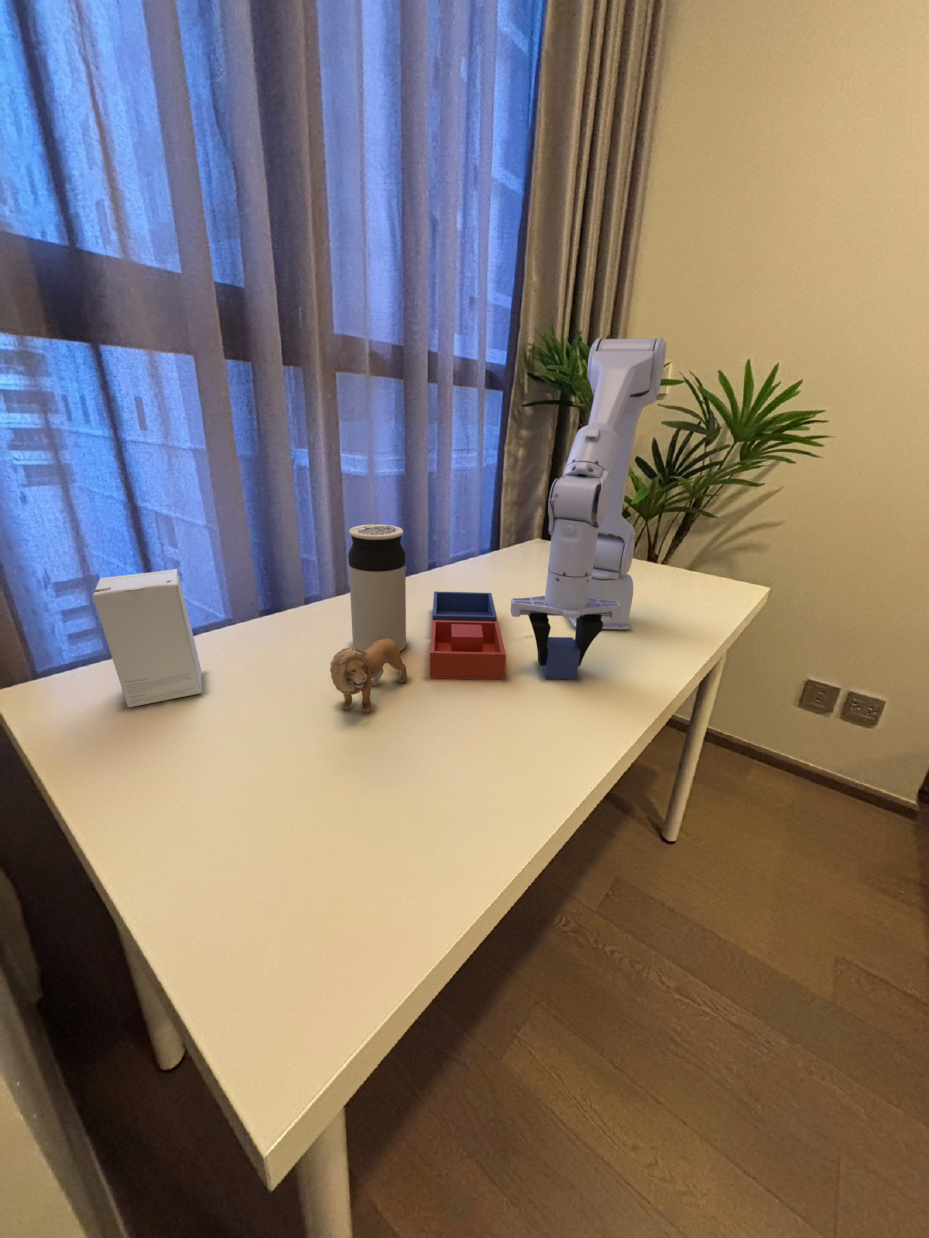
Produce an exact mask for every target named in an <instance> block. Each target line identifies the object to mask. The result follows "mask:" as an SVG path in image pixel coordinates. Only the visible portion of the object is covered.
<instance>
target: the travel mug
mask: <svg viewBox="0 0 929 1238" xmlns="http://www.w3.org/2000/svg"><path fill="white" fill-rule="evenodd" d="M348 533H349V535H350V536H351V541H352V545H351V546H350V549H349V551H348V553H347V555H348V576H349V592H350V593H349V596H350V613H351V614H350V615H351V633H352V647H353V649H358V650H360V651H361V652H364V651H365V650H367V649H368V648H369V647H370V646H372V644H373V643H374V642H376V641H377V640H382V639H392V640H394V641H395V642H396V643H397V645H398V647H399V651H400V652H401V651H403V650H404V649H405V647H406V645H407V613H406V612H407V603H406V602H407V601H406V600H407V599H406V598H407V597H406V596H407V595H406V594H407V593H406V592H407V591H406V586H407V585H406V579H407V577H406V573H407V572H406V571H407V570H406V551H405V549H404V547H403V545H402V543H401V542H402V536H403V534H404V529H403V528H402V527H399V526H396V525H393V524H384V523H383V524H381V523H379V524H378V523H375V524H373V523H371V524H360V525H356V526H353V527H351V528H350V529H349V530H348Z"/></svg>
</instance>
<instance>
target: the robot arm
mask: <svg viewBox="0 0 929 1238" xmlns="http://www.w3.org/2000/svg"><path fill="white" fill-rule="evenodd" d="M666 354H667V342H666V340H665V339H664V337H663V336H658V337H657V338H655V337H654V338H651V337H650V338H602V337H598V338H596V339H595V341H594V342H593V343H592V345H591V346H590V349H589V354H588V360H587V380H588V382H589V385H590V389H591V393H592V396H593V401H592V405H591V411H590V414H589V419H588V422H587V423H588V424H587V425H585V426H583V427H581V428H580V429H578V431H577V432H576V434H575V437H574V439H573V444H572V446H571V449H570V452H569V455H568V458H567V462H566V463H565V467H564V471H563V473H562V475H561V477H559V478H557V477H556V478H554V481H553V482H552V485H551V488H550V491H549V497H548V505H547V506H548V507H547V508H548V509H547V514H548V534H549V535H550V536H551V537H550V545H549V546H550V547H549V554H548V566H547V575H546V584H545V594H544V595H539V596H538V595H537V596H528V597H513V598H511V600H510V615H511V617H512V618H513V617H514V618H515V617H516V618H517V617H518V618H519V617H520V616H528V619H529V621H530V624H531V627H532V630H533V631H532V632H533V634H534V638H535V644H536V650H537V661H538V664H539V666H540V667H541V666H545V661H546V652H547V642H548V637H550V632H551V625H550V623H549V622H550V618H549V617H548V616H551V617H552V616H553V617H564V618H567V619H568V620H569V621H570V624H572V626H573V628H574V629H575V635H574V640H575V642H576V644H577V646H578V648H579V649H580V658H579V665H578V667H581V665H582V662H583V659H584V657H585V655H586V653H587V651H588V649H589V648H590V646H591V644H593V643H592V642H593V641H594V640H595V639H596V638H597V637H598V635H599V634H600V633H601V632H602V631H603V630H629V629H630V626H629V621H630V614H631V610H632V609H631V608H632V603H633V599H634V598H633V597H634V580H633V577H632V576H631V574H629V572H630V569H631V566H632V562H633V558H634V554H635V553H634V552H635V547H636V546H635V540H636V530H635V528H634V526H633V525H632V524H631V523H630V522H629V521H628V520H627V519H626V518H624V516H623V514H622V513H623V509H624V508H623V507H624V502H625V497H626V490H627V484H628V479H629V472H630V466H631V462H632V456H633V450H634V446H635V445H634V444H635V438H636V433H637V426H638V423H639V420H640V417H641V414H642V412H643V409H644V408H646V407H648V406H650V405H653V404H654V403H656V401H657V397H658V396H659V393H660V388H661V382H662V377H663V374H664V373H663V372H664V367H665V362H666Z"/></svg>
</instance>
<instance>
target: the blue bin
mask: <svg viewBox="0 0 929 1238" xmlns="http://www.w3.org/2000/svg"><path fill="white" fill-rule="evenodd" d="M431 615H432V617H431V621H432V620H447V621H491V622H498V615H497V611H496V607H495V602H494V598H493V594H492V592H473V591H471V592H470V591H437V590H436V591H433V602H432V614H431Z"/></svg>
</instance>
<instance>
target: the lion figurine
mask: <svg viewBox="0 0 929 1238" xmlns="http://www.w3.org/2000/svg"><path fill="white" fill-rule="evenodd" d="M329 664H330V669H329V672H330V677H331V681H332V684H333V685H334V686H335V688H336V690H337V691H339V692H340V693H341V694H342V695H343V698H344V701H342V702H341V705H340V707H341V709H342V710H349V709H350V708H351V707H352V706H353V696H354V695H357V694H359V693H360V692H361V698H362V699H361V708H360V709H361V712H362V713H370V712H372V710H373V709H372V702H371V693H372V687H374V686H377V685H378V684H379V683H380V681H381V678H382V676H383V675H384V672H385V671H384V666H385V665H386V664H387V665H389V666H391V667H392V668H393V669H394V670H395V671H399V672H400V675H399V676H398V677H397V681H398V682H399V683H406V682H407V681H408V674H407V666H406V664H405V663H404V662H403V660H402V657H401V651H399V647H398V645H397V643H396V642H395V641H394V640H392V639H382V640H377V641H376V642H374V643H373V644H372V646H370V647H369V648H368V649H367V650H365V651H364V652H361V651H360V650H358V649H354V647H353V648H352V647H347V648H342V649H341V650H340V651H339V650H338V652H337V653H336V654H334V656H333V658H332V660H331V661H330V663H329Z"/></svg>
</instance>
